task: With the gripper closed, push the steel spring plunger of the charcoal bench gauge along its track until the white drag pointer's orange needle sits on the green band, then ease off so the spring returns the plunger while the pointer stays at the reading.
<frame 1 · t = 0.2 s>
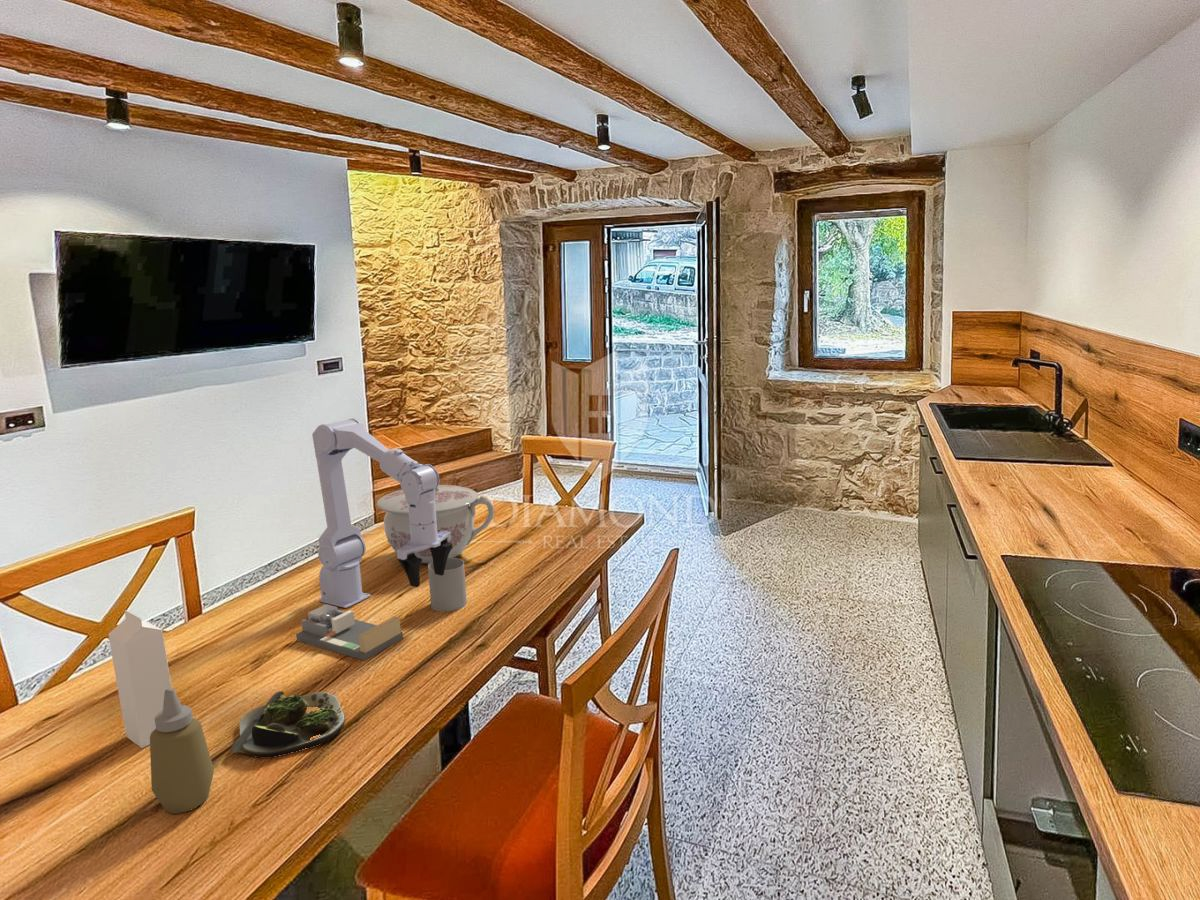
hand: (427, 580, 168), 10 cm above the table, tool pointing down, fingers open, 7 cm apart
gauge base: (349, 639, 163), on the table
chamber pot: (433, 556, 213), on the table
cup: (448, 605, 180), on the table
milk: (152, 735, 130), on the table
squeeze bottle: (187, 802, 112), on the table
plunger: (328, 618, 165), point 4 cm above the table, slide at 0.0 cm
pointer: (339, 623, 162), point 4 cm above the table, slide at 0.0 cm
salad plate: (291, 732, 130), on the table
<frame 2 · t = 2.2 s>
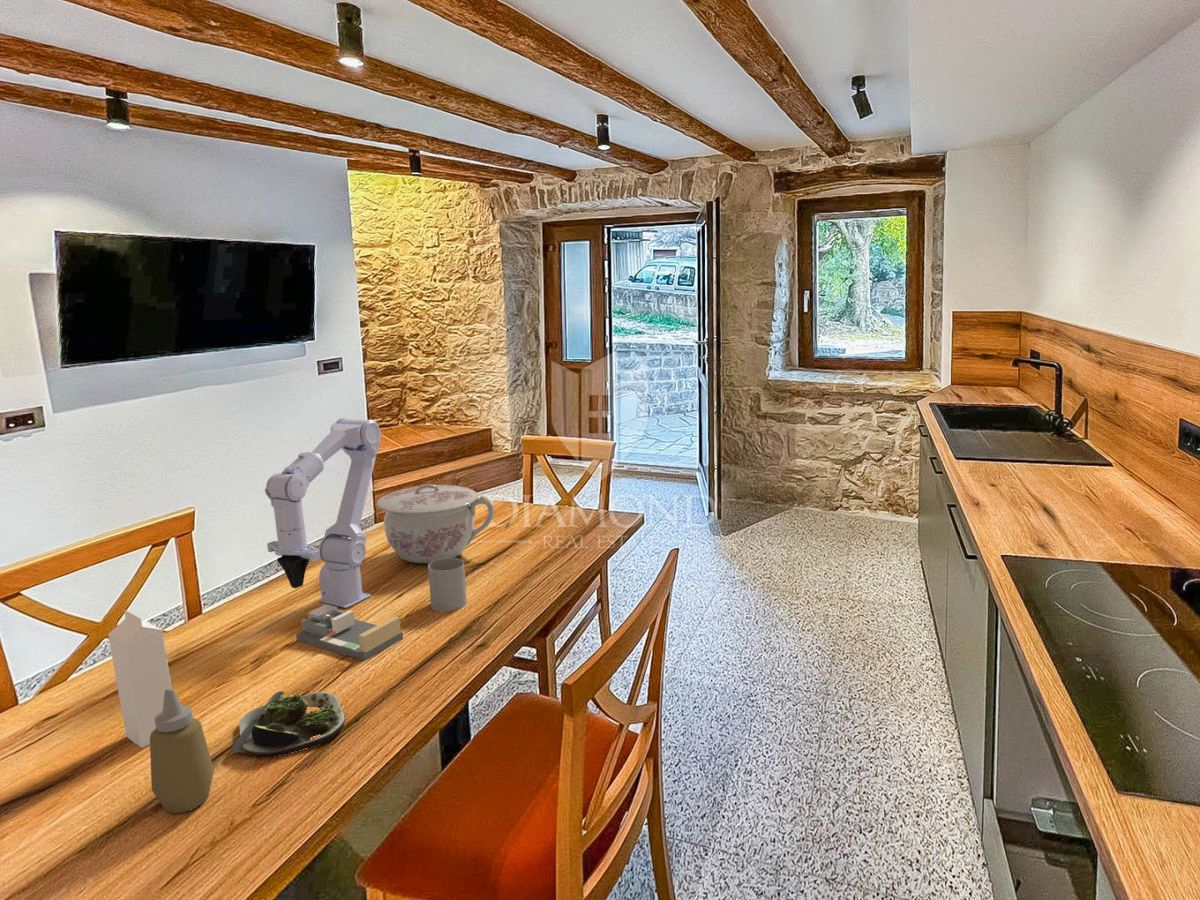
hand: (297, 586, 168), 9 cm above the table, tool pointing down, fingers closed
nothing on the table moved.
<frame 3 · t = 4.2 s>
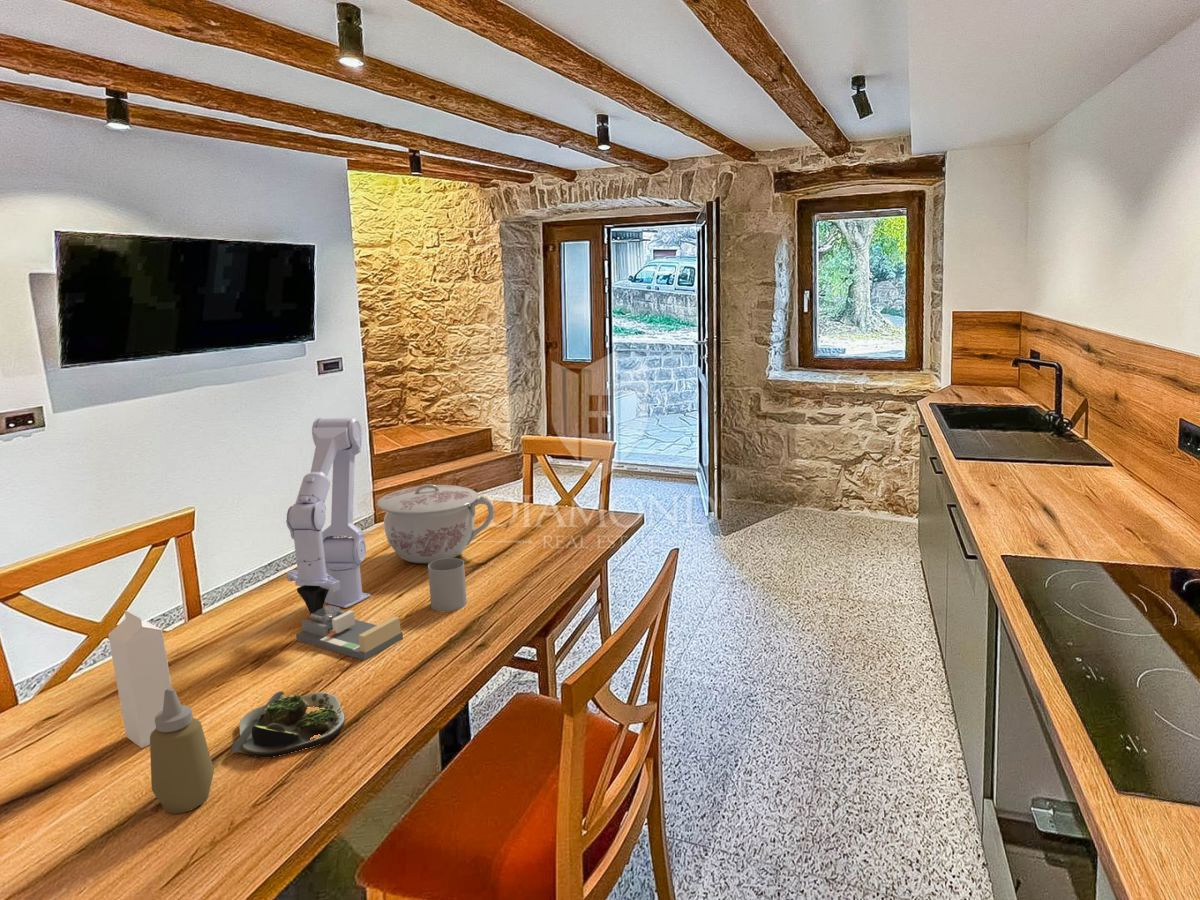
hand: (316, 616, 167), 3 cm above the table, tool pointing down, fingers closed
plunger: (331, 619, 165), point 4 cm above the table, slide at 0.8 cm, touching gripper, pointer
pointer: (339, 623, 162), point 4 cm above the table, slide at 0.1 cm, touching plunger
everything else where it was.
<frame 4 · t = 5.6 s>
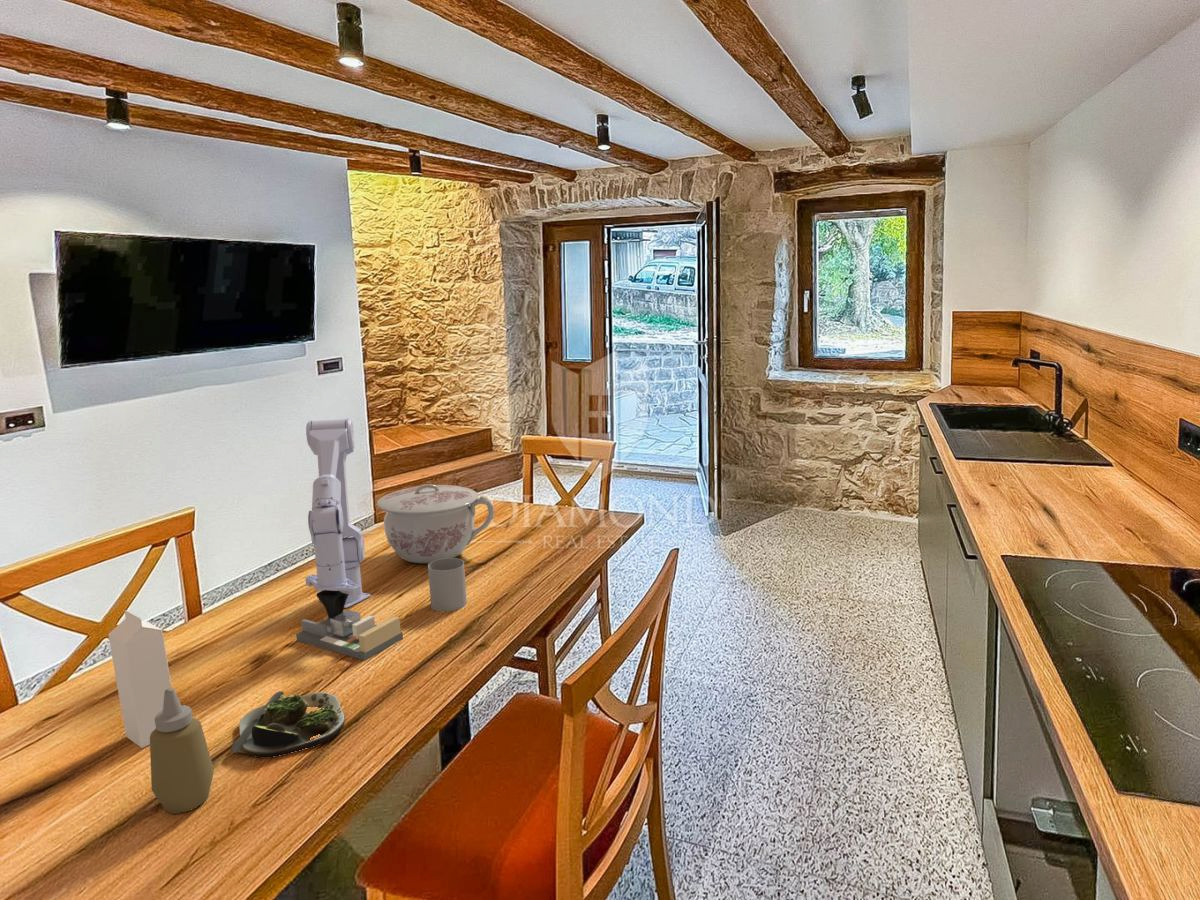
hand: (336, 621, 164), 3 cm above the table, tool pointing down, fingers closed
plunger: (350, 624, 162), point 4 cm above the table, slide at 6.8 cm, touching gripper, pointer
pointer: (360, 629, 159), point 4 cm above the table, slide at 6.1 cm, touching plunger
everything else where it was.
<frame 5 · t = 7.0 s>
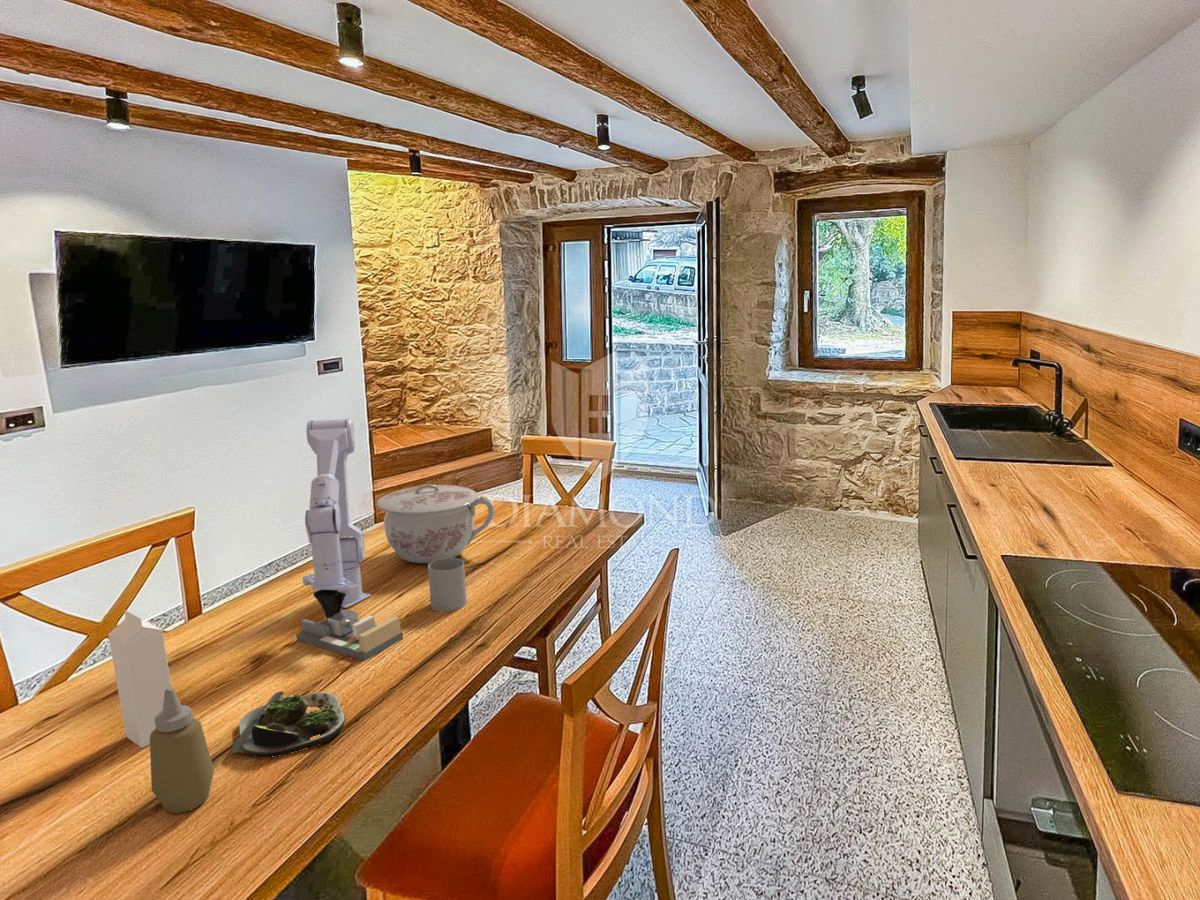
hand: (333, 620, 165), 3 cm above the table, tool pointing down, fingers closed
plunger: (348, 624, 162), point 4 cm above the table, slide at 6.0 cm, touching gripper
pointer: (360, 629, 159), point 4 cm above the table, slide at 6.2 cm
everything else where it was.
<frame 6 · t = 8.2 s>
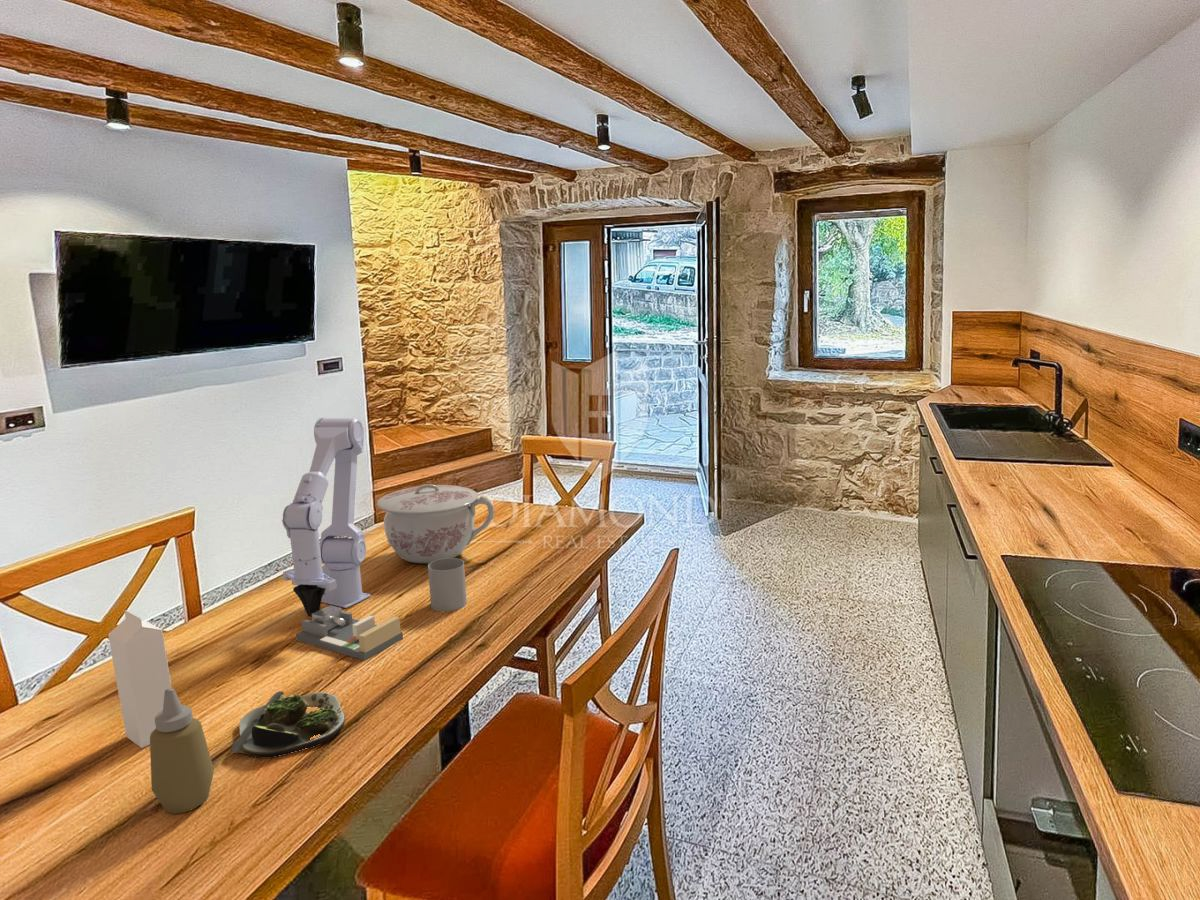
hand: (313, 615, 168), 3 cm above the table, tool pointing down, fingers closed
plunger: (332, 619, 165), point 4 cm above the table, slide at 1.2 cm
everything else where it was.
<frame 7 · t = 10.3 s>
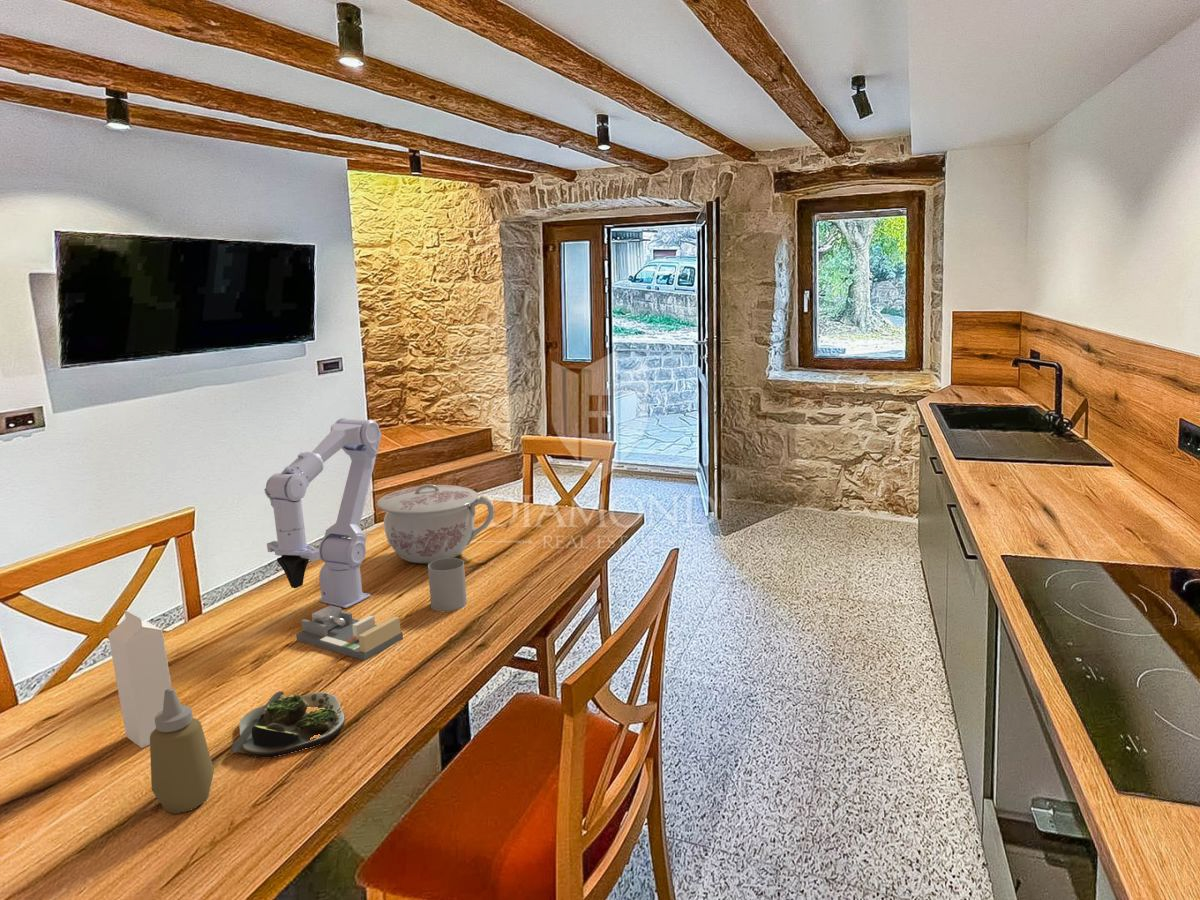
hand: (297, 586, 168), 9 cm above the table, tool pointing down, fingers closed
nothing on the table moved.
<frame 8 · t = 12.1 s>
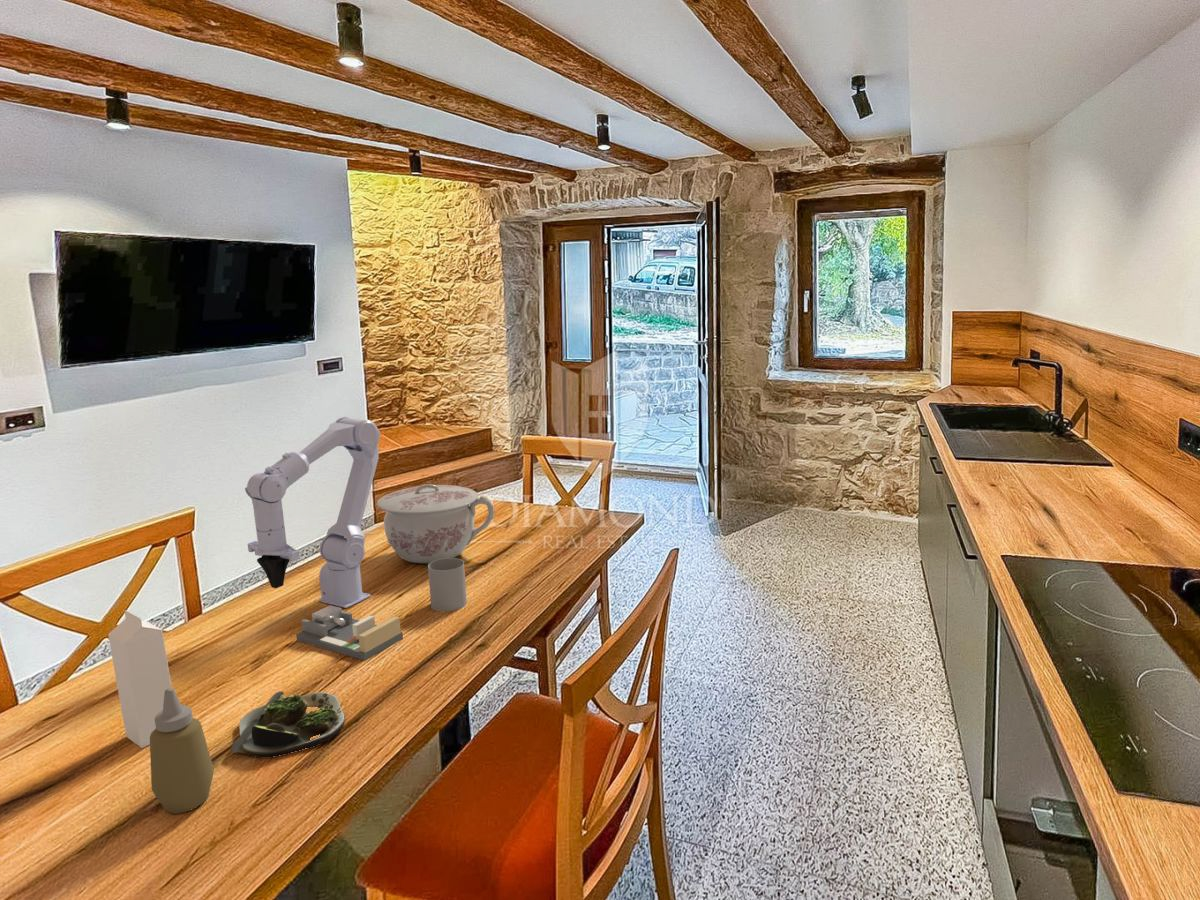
hand: (277, 586, 169), 9 cm above the table, tool pointing down, fingers closed
nothing on the table moved.
at the end: pointer slide at 6.2 cm; plunger slide at 1.2 cm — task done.
